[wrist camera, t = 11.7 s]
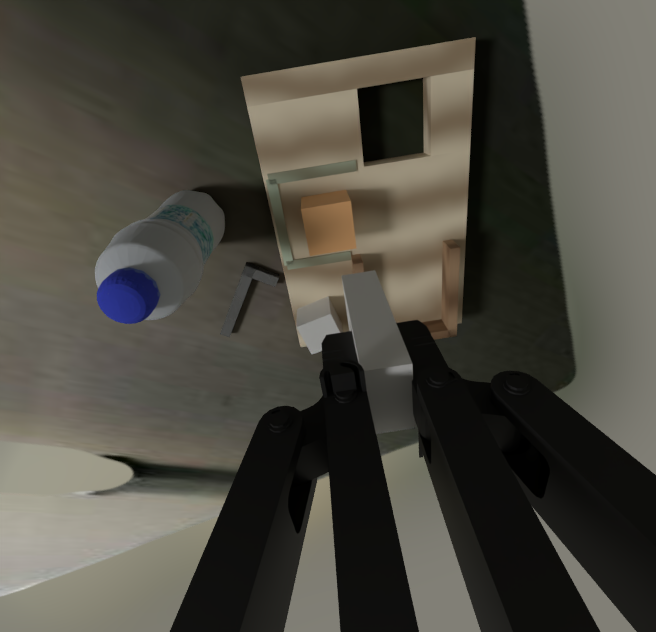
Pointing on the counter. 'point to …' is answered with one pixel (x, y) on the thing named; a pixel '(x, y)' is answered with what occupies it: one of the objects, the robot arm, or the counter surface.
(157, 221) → the bottle
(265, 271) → the crook tool
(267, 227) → the counter surface
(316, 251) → the cube
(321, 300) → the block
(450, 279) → the cubby
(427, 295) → the board
